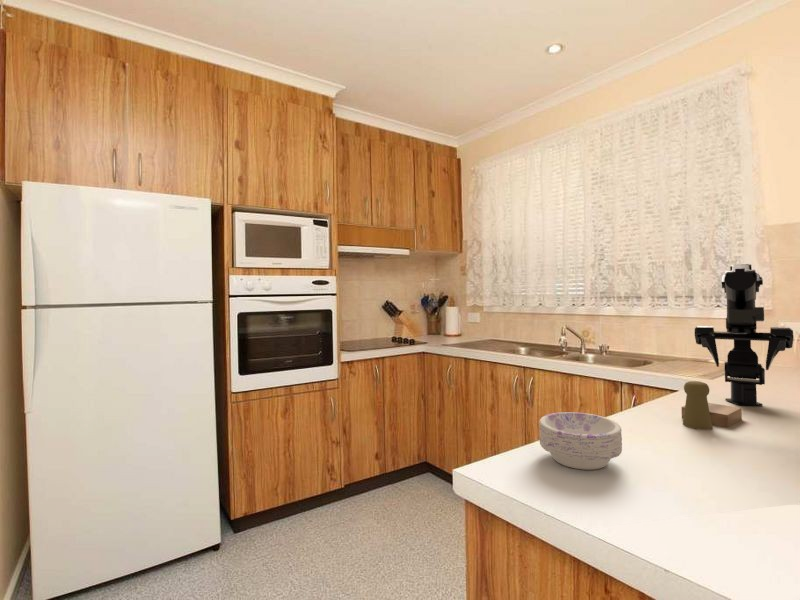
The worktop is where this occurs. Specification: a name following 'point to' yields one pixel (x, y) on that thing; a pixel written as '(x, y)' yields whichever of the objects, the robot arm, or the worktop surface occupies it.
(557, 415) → the paper bowls
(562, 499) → the worktop surface
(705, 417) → the cork
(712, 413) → the base block
